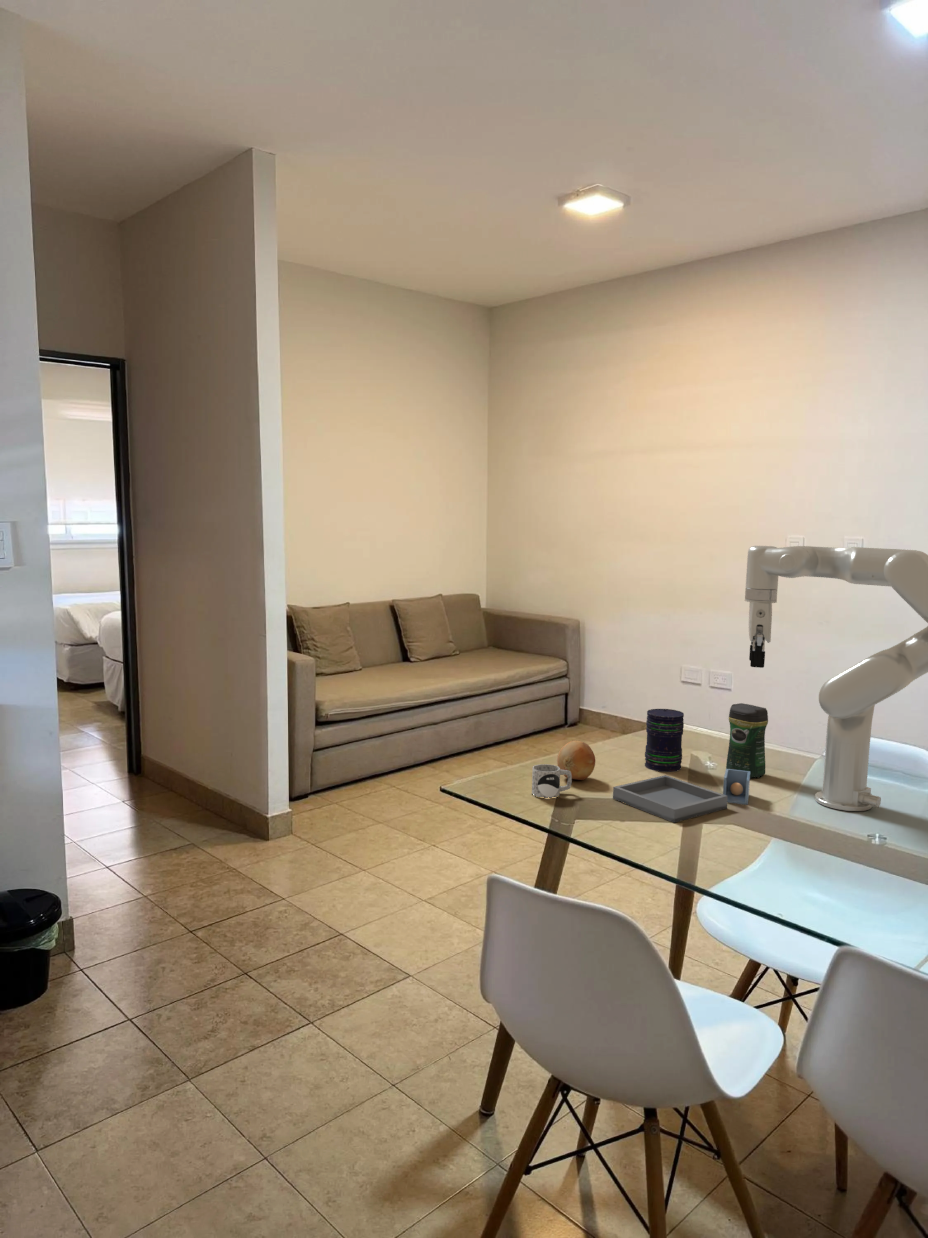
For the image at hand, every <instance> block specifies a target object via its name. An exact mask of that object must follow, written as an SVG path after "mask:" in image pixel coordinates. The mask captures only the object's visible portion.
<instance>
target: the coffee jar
mask: <svg viewBox="0 0 928 1238" xmlns="http://www.w3.org/2000/svg"><path fill="white" fill-rule="evenodd" d="M728 722H729V729H730V731H729V733H730V734H729V741H728V749H727V755H726V756H727V758H726V766H725V770H726V769H733V770H742V771H750V778H756V777H758V778H761V777H763V776H764V775H765V774H766V750H765V748H766V747H765V746H766V743H765V739H766V737H765V736H766V735H765V734H766V729H767V726H768V723H769V715H768V710H767V708H766V707H761V706H758V705H753V704H748V703H744V702H743V703H742V702H741V703H735V704H732V705H731V706H730V708H729V713H728ZM762 775H763V776H762ZM760 776H761V777H760Z"/></svg>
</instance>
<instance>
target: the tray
mask: <svg viewBox="0 0 928 1238" xmlns="http://www.w3.org/2000/svg"><path fill="white" fill-rule="evenodd" d="M612 788H613V789H612V799H613V800H614V799H616V800H615V801H617V800H618V801H617V802H619V801H621V802H620V803H622V802H624V803H626V804H625V805H627V804H628V805H627V806H629V805H630V807H633V808H635V809H638V810H640V811H643V812H645V813H648V814H650V815H653V816H655V817H659V818H661V819H663V820H666V821H668V822H671V823H673V824H674V823H679V822H682V821H686V820H689V819H693V818H697V817H700V816H704V815H708V814H712V813H714V812H718V811H722V810H725V809H727V808H728V802H727V799H728V796H727V795H724V794H723V793H720V792H717V791H714V790H711V789H709V788H705V787H702V786H699V785H697V784H693V783H692V782H691V783H690V782H687V781H685V780H681V779H680V778H679V779H678V778H675V777H672V776H669V775H667V774H666V775H661V776H655V777H651V778H648V779H642V780H639V781H638V780H637V781H633V782H630V783H629V782H628V783H625V784H621V785H620V784H619V785H616V786H613V787H612ZM624 803H623V804H624Z"/></svg>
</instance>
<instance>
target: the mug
mask: <svg viewBox="0 0 928 1238" xmlns="http://www.w3.org/2000/svg"><path fill="white" fill-rule="evenodd" d="M564 774H566V775H567V776H568V778H567V782H566V785H563V786H562V785H561V775H563V776H564ZM531 777H532V778H531V781H532V783H531V795H532V794H533V795H534V796H537V797H544V798H548V797H549V798H552V797H557V796H558V795H559V796H560V794H561V793H560V792H564V791H567V790H570V789H571V787H572V783H573V782H572V781H573V779H572V775H571V772H570V771H569V770H560V767H558V765H555V764H547V763H544V764H543V763H542V764H536V765H533V766H532V775H531ZM534 796H533V797H534Z"/></svg>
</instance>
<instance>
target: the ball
mask: <svg viewBox="0 0 928 1238" xmlns="http://www.w3.org/2000/svg"><path fill="white" fill-rule="evenodd" d="M730 791H731V792H732V794H734V795H740V794H741V793H742V792H743V787H742V785H741V784H740V783H733V784H732V785H731V787H730Z"/></svg>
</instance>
